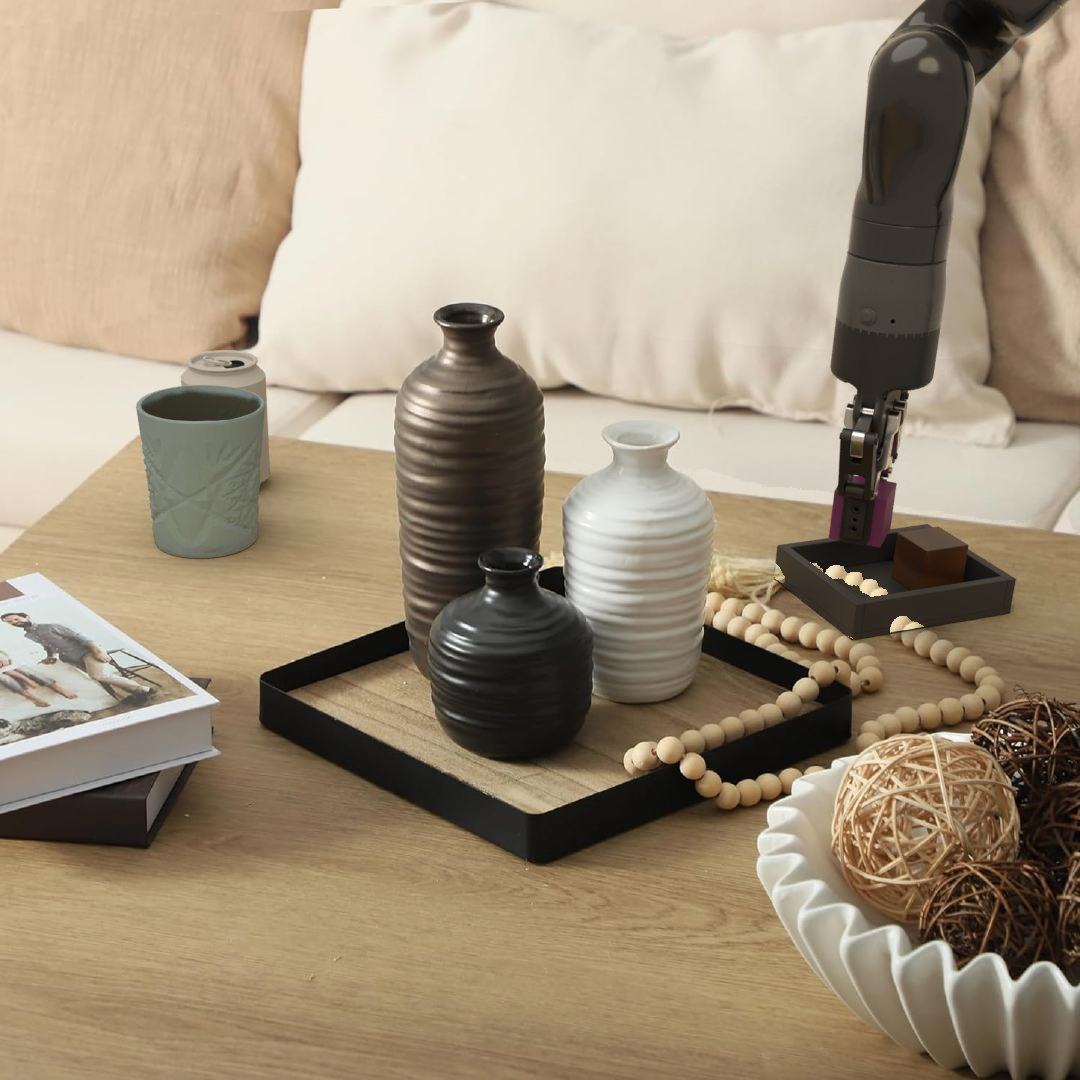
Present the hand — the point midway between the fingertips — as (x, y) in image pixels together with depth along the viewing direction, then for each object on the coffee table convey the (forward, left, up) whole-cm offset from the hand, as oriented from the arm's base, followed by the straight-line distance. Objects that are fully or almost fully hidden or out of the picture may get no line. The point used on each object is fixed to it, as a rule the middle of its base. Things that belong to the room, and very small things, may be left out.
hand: (860, 531), depth 114 cm
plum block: (0, 0, 0) cm, 0 cm away
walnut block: (-7, 0, -6) cm, 9 cm away
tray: (-4, 0, -6) cm, 7 cm away
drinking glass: (+45, -28, -6) cm, 54 cm away
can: (+41, -40, -6) cm, 58 cm away
